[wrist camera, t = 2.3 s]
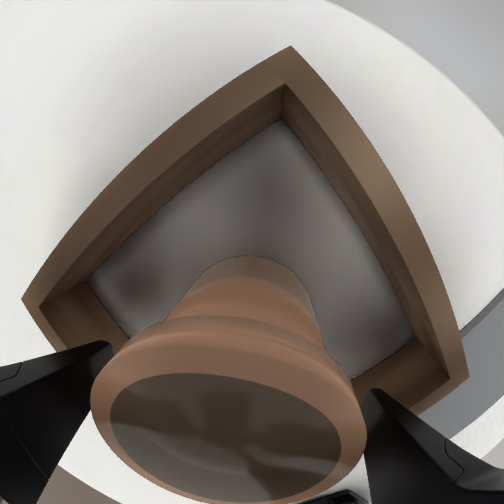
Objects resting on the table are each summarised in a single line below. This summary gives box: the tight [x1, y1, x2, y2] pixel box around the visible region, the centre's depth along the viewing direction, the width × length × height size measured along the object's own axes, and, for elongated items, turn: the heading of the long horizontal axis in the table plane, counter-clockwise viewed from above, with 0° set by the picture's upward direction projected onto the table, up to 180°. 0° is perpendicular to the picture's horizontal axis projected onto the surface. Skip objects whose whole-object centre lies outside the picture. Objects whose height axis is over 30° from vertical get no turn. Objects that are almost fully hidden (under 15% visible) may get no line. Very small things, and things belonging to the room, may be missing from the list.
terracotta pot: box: [90, 256, 367, 504], centre depth 9 cm, size 7×7×8 cm
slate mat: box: [418, 289, 504, 439], centre depth 13 cm, size 11×11×1 cm
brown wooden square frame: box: [21, 46, 470, 416], centre depth 11 cm, size 15×15×4 cm
